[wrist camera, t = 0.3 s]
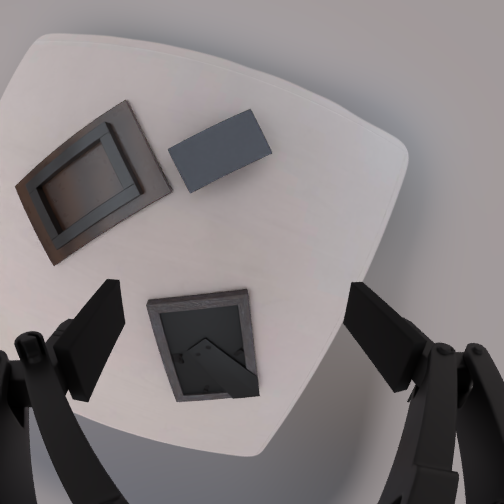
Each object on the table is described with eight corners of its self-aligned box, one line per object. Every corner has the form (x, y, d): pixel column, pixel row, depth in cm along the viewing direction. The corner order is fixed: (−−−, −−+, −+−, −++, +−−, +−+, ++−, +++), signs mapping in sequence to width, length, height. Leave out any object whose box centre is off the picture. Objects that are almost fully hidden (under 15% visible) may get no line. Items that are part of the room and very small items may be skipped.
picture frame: (257, 387, 43) (247, 288, 38) (259, 396, 41) (248, 295, 36) (177, 395, 42) (148, 299, 37) (176, 403, 40) (145, 306, 35)
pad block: (194, 188, 33) (190, 193, 28) (176, 152, 32) (167, 149, 26) (263, 155, 33) (272, 153, 27) (245, 118, 31) (250, 108, 26)
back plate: (57, 263, 34) (48, 270, 31) (18, 185, 30) (8, 187, 27) (172, 191, 33) (169, 193, 31) (128, 101, 29) (121, 97, 27)
